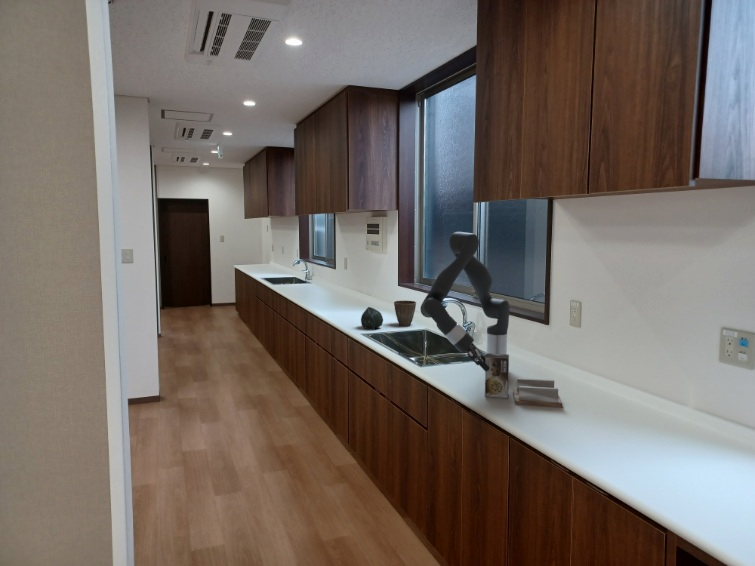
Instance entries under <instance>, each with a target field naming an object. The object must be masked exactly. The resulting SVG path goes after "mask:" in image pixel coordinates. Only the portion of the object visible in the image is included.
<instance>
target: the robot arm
mask: <svg viewBox="0 0 755 566" xmlns="http://www.w3.org/2000/svg"><path fill="white" fill-rule="evenodd" d="M448 242H449V243H448V244H449V248H450V250H451V252H452V253H453V255H454V256H455V258H454V260H453V261H452V262H451V263H450V264H449V265H447V266H446V267H444V269H442V270H441V272H439V273H438V275H437V277H436V279H435V281H434V282H433V284H432V287H431V289H430V291H429V292H428V293H427V294H426V296H425V298H424V300H423V301H422V303H421V304H420V313H421V315H422V316H423V317H425V318H429V319H430V318H431V319H432V320H433V321H434V322H435V324H436V328H437V329H438V330H439V331H440V332H441V333H442V334H443V335H444V336H445V338H446V339H447V340H448V341H449V343H450V344H452V346H454V347H455V348H456V349H457V350H458V351H459V352H460V353H463V352H464V351H466V352H467V353H466V355H467V356H468V357H469V358H470V359H471V361H472V362H473V363H474V364H475V365H476V366H480V368H482V370H483V371H484V372H485V371H486V372H487V371H488V370H489V369H490V367H489V366H488V365H487V364H486V363H485V357H486V356H485V355H484V354H483V352H482V351H481V349H479V348H478V347H477V346H476V345H475V344H474V341H475V339H474V337H473V336H471V335H470V333H469V332H468V331H467V330H466V329H465V328H464V327H462V326H461V325H460V324H459V323H458V322H457V321H456V320H455V319H454V318H453V317H452V316H451V315H450V314H449V312H448V311H447V309H446V308H445V306H444V305H443V304H442V303H443V301H444V300H445V298H446V297H447V296H448V294H449V293H450V290H451V289H452V287H453V286H454V284H455V281H456V280H457V278H458V277H459V275H460V274H461V273H462V271H463V270H464V272H465V274H466V276H467V278H468V281H469V283H470V284H471V286H472V288H473V290H474V291H475V294H476V296H477V298H478V300H479V304H480V306H481V309H482V311H483V313H484V316H486V317H487V318H489V319H495V320H496V323H495V324H493V325H489V326H487V328H486V352H485V353H486V354H487V353H489V354H508V353H507V351H508V329H509V324H510V323H509V322H510V321H509V320H510V310H511V309H510V308H511V307H510V303H509V301H508V300H506V299H500V298H493V297H492V295H491V294H490V291H491V289H492V284H493V277H492V276H491V274H490V271H489V269H488V267H487V266H486V265H485V264H484V263H483V262H482V261H481V260H479V259H478V258H477V257H476V256H475V255H476V253H477V251H478V249H479V246H480V239H479V237H478V235H477V234H475V233H471V232H463V231H455V232H453V233H452V234H451V235H450V237H449V241H448Z"/></svg>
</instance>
